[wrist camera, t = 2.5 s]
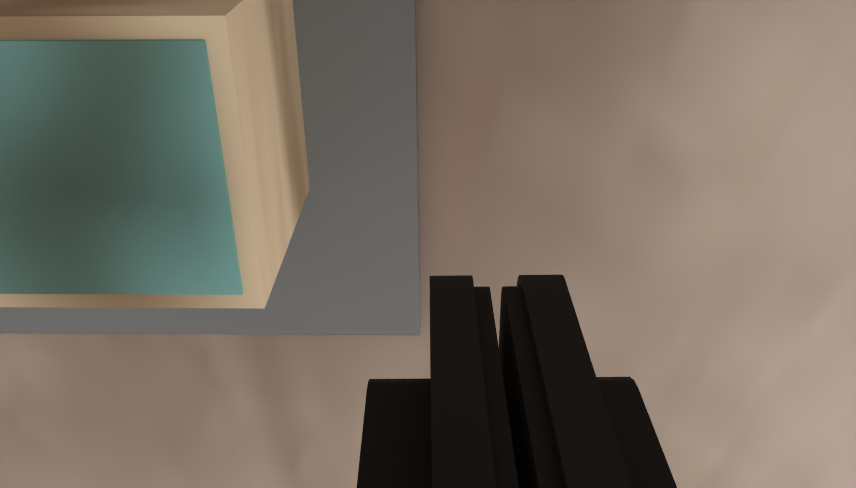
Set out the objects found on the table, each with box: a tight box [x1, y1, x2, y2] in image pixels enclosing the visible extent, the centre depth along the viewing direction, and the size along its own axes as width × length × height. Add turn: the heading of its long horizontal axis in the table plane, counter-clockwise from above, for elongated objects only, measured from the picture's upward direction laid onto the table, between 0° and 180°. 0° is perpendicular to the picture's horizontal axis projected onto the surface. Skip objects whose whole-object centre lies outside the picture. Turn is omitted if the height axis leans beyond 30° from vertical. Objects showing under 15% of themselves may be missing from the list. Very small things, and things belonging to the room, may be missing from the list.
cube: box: [0, 0, 310, 309], centre depth 17 cm, size 6×6×6 cm
